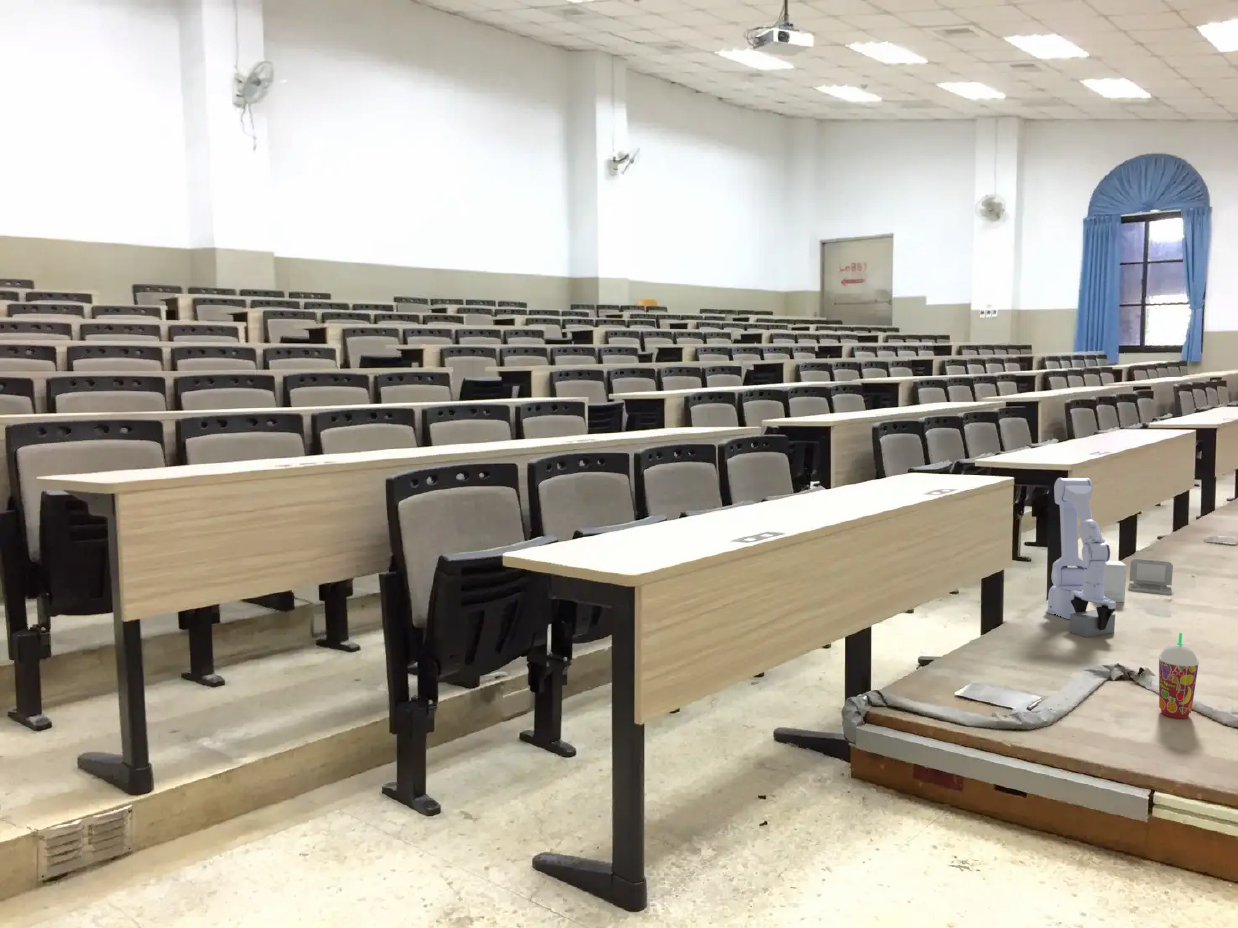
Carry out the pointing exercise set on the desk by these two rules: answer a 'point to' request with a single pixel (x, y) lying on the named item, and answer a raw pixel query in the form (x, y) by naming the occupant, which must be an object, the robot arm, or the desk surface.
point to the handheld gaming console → (1151, 576)
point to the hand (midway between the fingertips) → (1091, 626)
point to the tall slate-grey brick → (1089, 624)
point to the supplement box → (1115, 581)
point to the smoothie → (1177, 680)
